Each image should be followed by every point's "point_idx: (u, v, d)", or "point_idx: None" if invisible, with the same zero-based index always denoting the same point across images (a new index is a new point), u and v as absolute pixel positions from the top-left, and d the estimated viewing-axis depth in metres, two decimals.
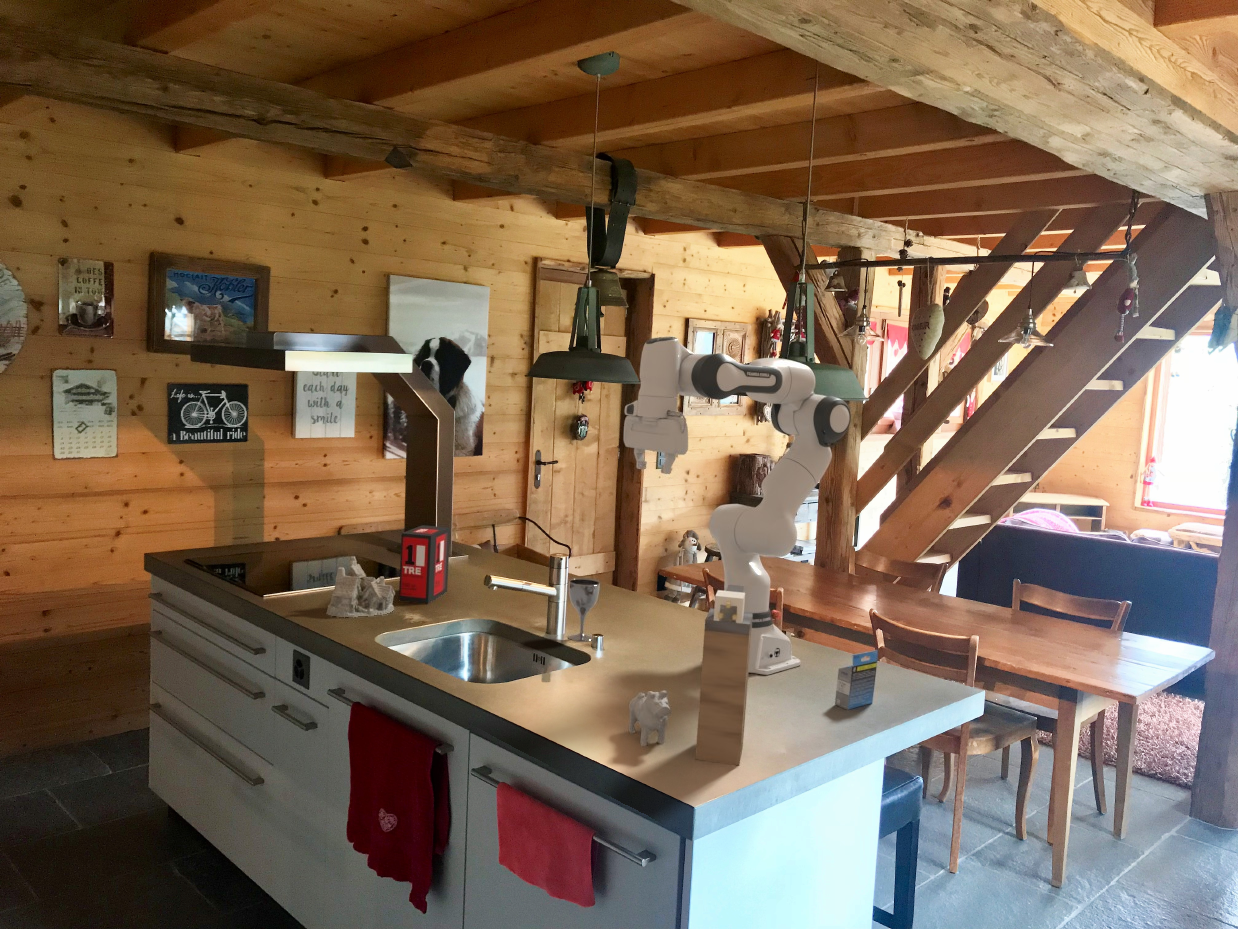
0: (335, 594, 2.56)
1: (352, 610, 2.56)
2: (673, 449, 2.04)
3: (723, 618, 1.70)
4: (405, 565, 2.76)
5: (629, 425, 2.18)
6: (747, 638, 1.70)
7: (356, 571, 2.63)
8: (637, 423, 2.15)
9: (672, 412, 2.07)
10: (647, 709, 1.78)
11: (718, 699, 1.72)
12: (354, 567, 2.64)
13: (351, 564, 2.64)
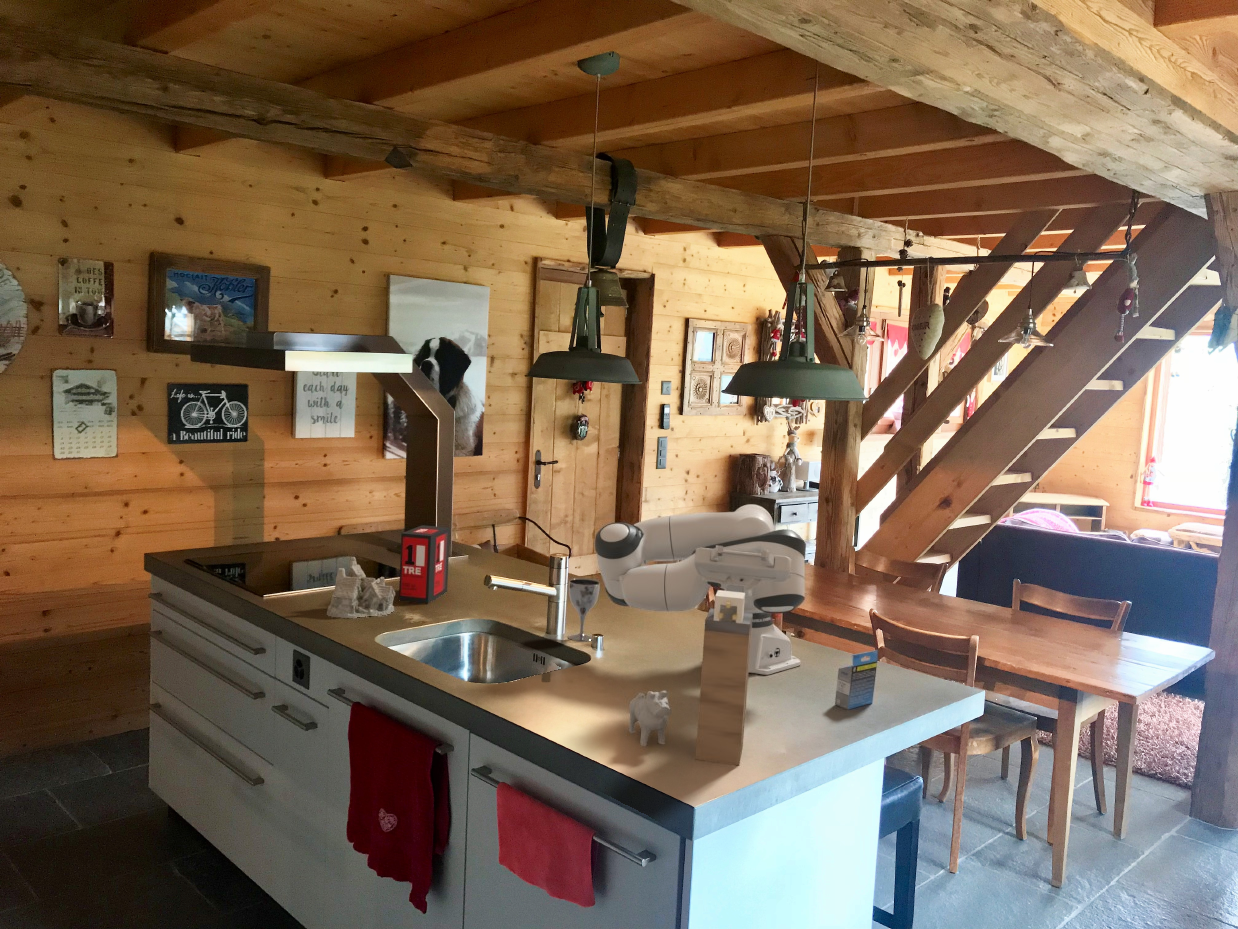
0: (335, 595, 2.55)
1: (352, 611, 2.55)
2: None
3: (723, 618, 1.70)
4: (405, 565, 2.76)
5: None
6: (747, 638, 1.70)
7: (356, 572, 2.62)
8: None
9: None
10: (647, 709, 1.78)
11: (718, 699, 1.72)
12: (354, 568, 2.63)
13: (351, 565, 2.63)
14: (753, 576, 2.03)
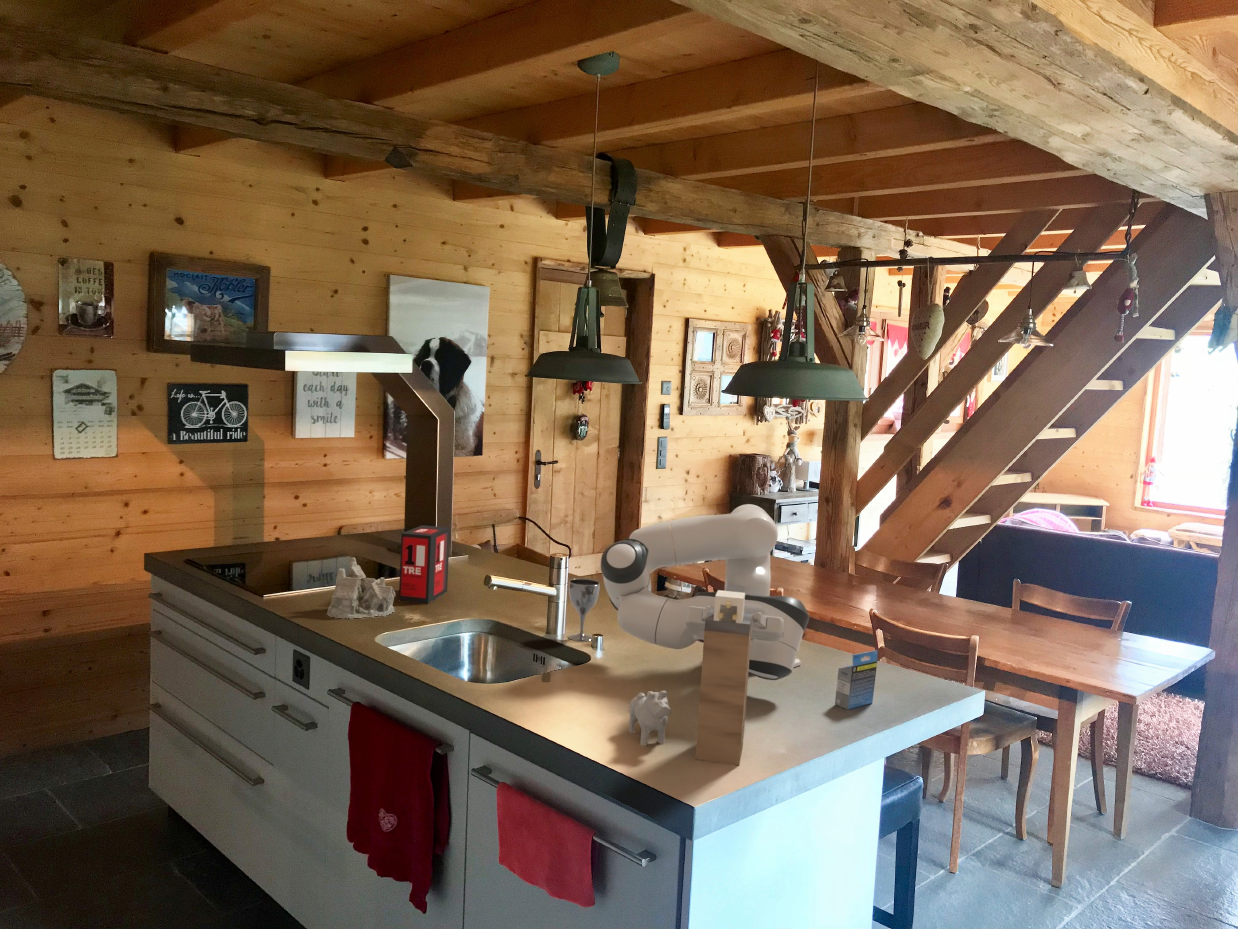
0: (336, 595, 2.55)
1: (353, 611, 2.55)
2: None
3: (723, 618, 1.70)
4: (405, 565, 2.76)
5: None
6: (747, 638, 1.70)
7: (356, 572, 2.62)
8: None
9: None
10: (647, 709, 1.78)
11: (718, 699, 1.72)
12: (354, 568, 2.62)
13: (351, 565, 2.62)
14: None
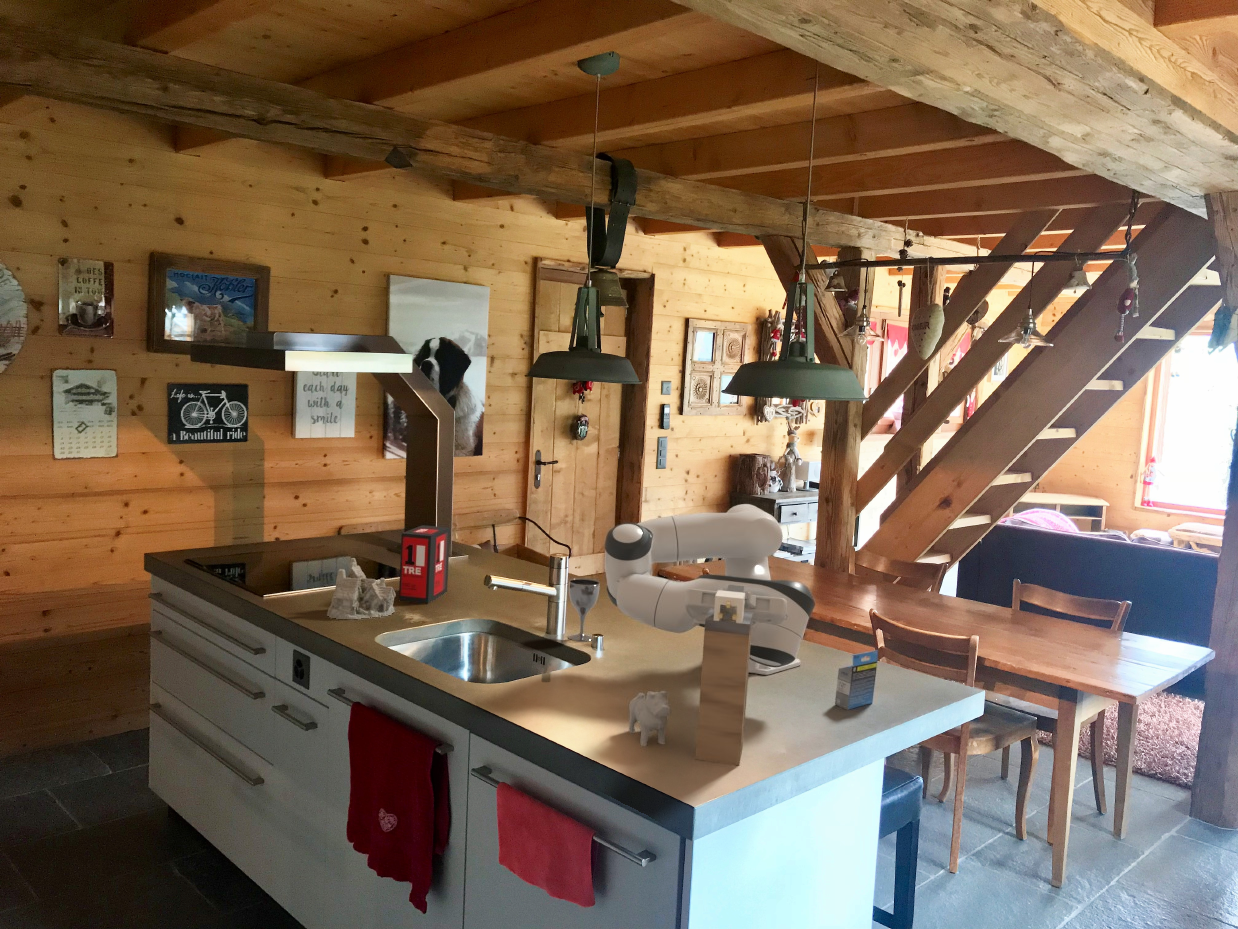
0: (336, 596, 2.54)
1: (353, 612, 2.54)
2: None
3: (723, 618, 1.70)
4: (405, 565, 2.76)
5: None
6: (747, 638, 1.70)
7: (356, 573, 2.61)
8: None
9: None
10: (647, 709, 1.78)
11: (718, 699, 1.72)
12: (354, 569, 2.62)
13: (351, 566, 2.62)
14: None
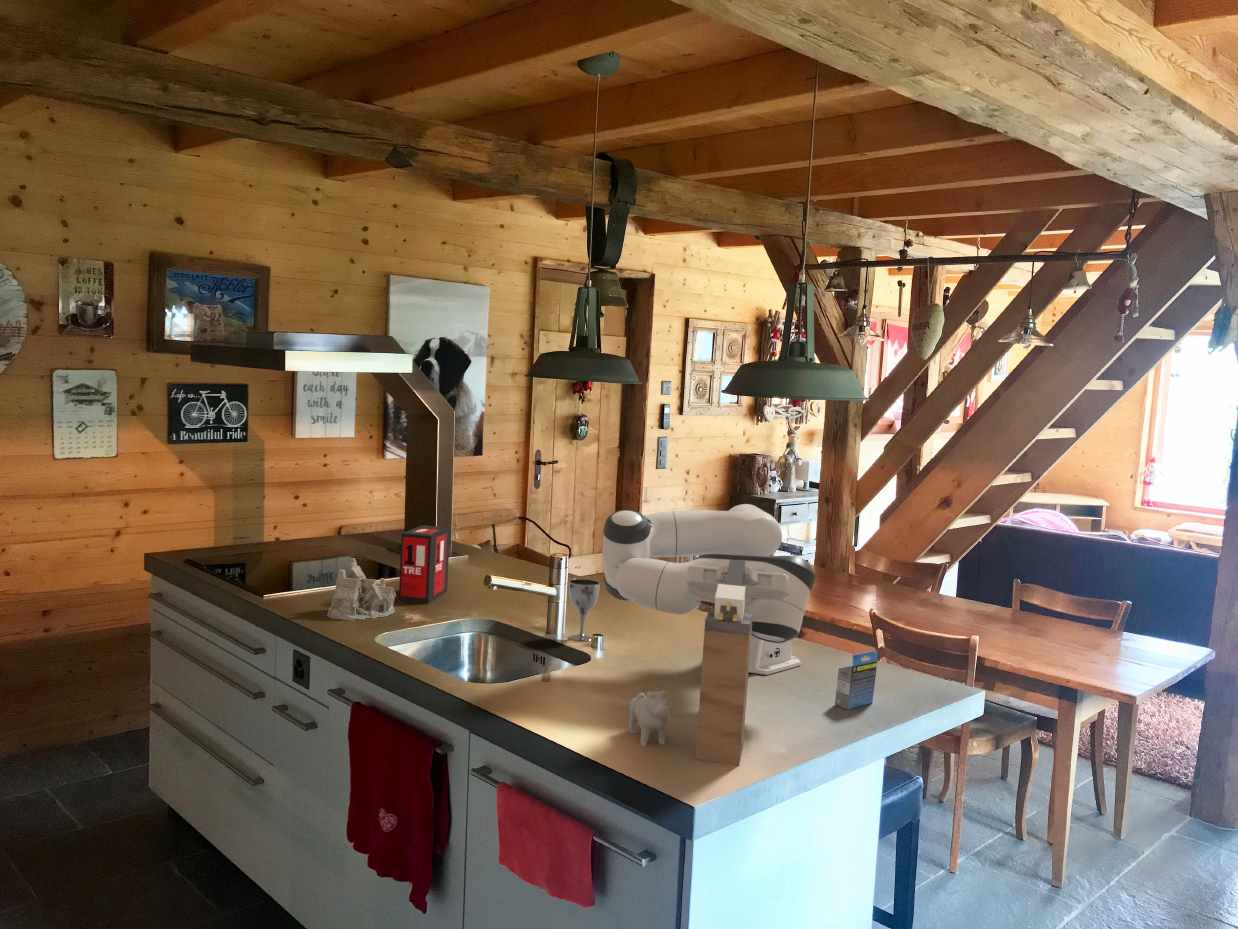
0: (336, 596, 2.54)
1: (354, 612, 2.54)
2: None
3: (724, 617, 1.71)
4: (405, 565, 2.76)
5: None
6: (747, 638, 1.70)
7: (356, 573, 2.61)
8: None
9: None
10: (647, 709, 1.78)
11: (718, 699, 1.72)
12: (354, 569, 2.61)
13: (351, 566, 2.61)
14: (749, 594, 1.92)
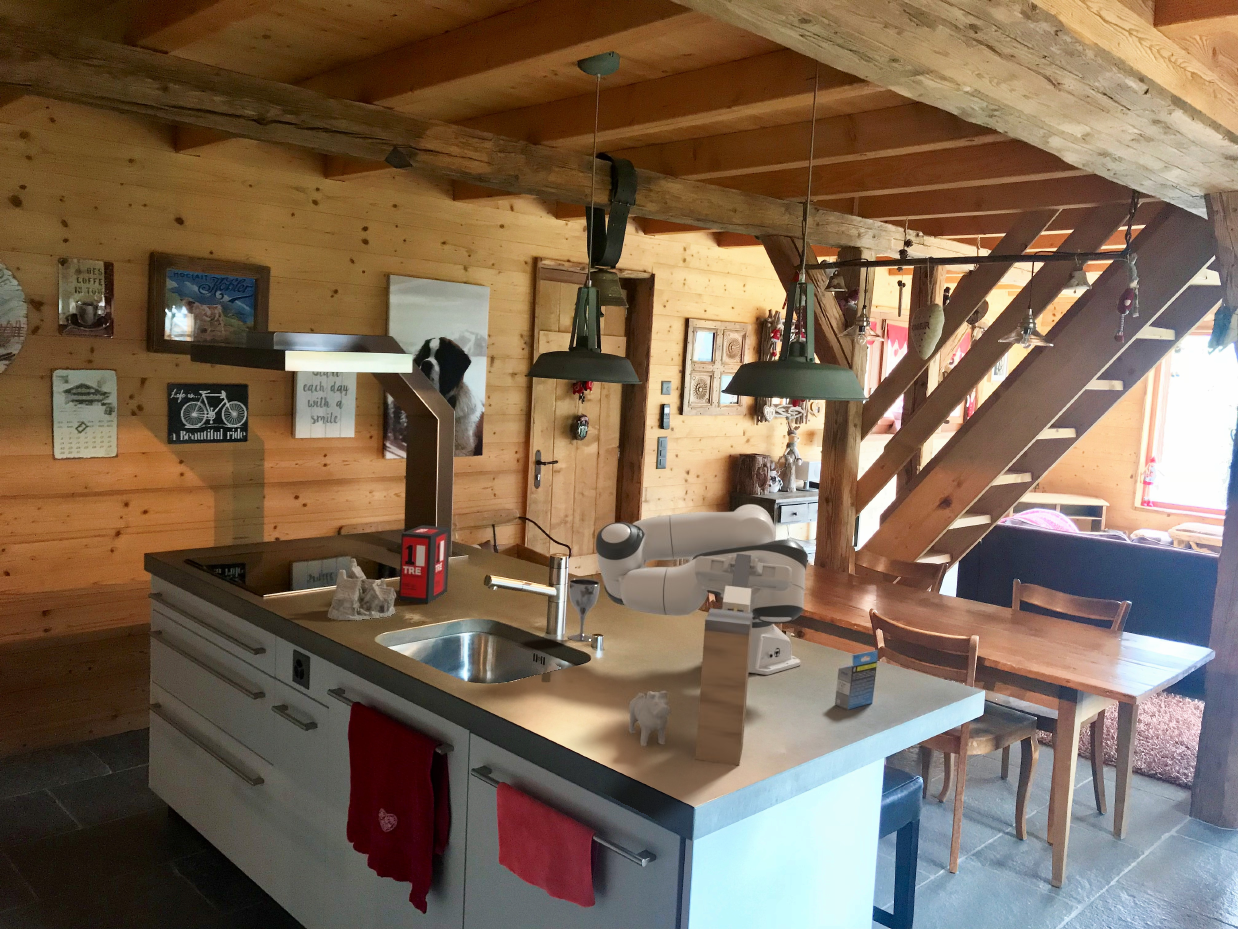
0: (337, 597, 2.53)
1: (354, 613, 2.53)
2: None
3: None
4: (405, 565, 2.76)
5: None
6: (747, 638, 1.70)
7: (356, 573, 2.60)
8: None
9: None
10: (647, 709, 1.78)
11: (718, 699, 1.72)
12: (354, 569, 2.61)
13: (351, 566, 2.61)
14: (753, 585, 2.03)
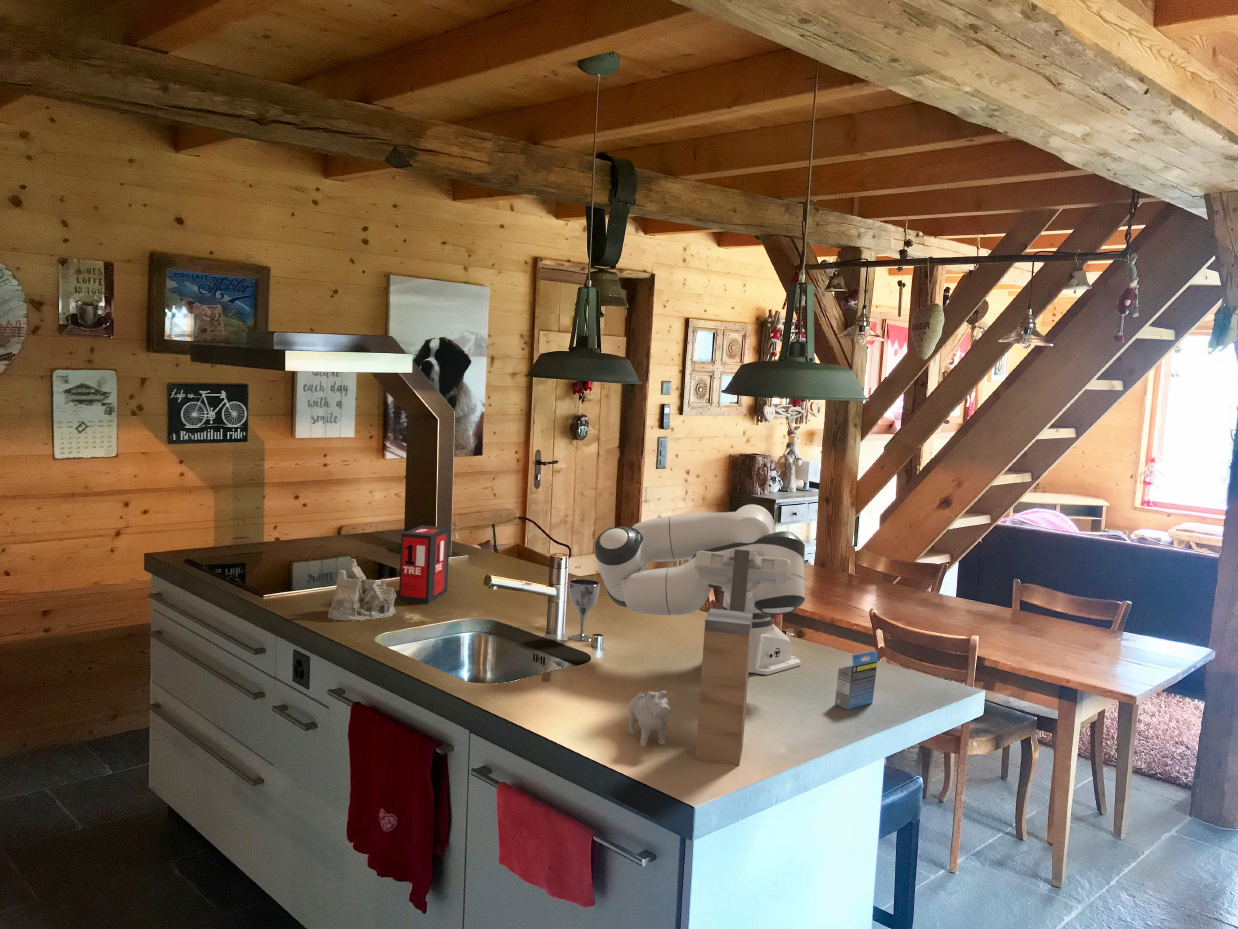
0: (337, 597, 2.53)
1: (354, 613, 2.53)
2: None
3: None
4: (405, 565, 2.76)
5: None
6: (747, 638, 1.70)
7: (356, 574, 2.60)
8: None
9: None
10: (647, 709, 1.78)
11: (718, 699, 1.72)
12: (355, 570, 2.60)
13: (351, 567, 2.60)
14: (753, 578, 2.06)
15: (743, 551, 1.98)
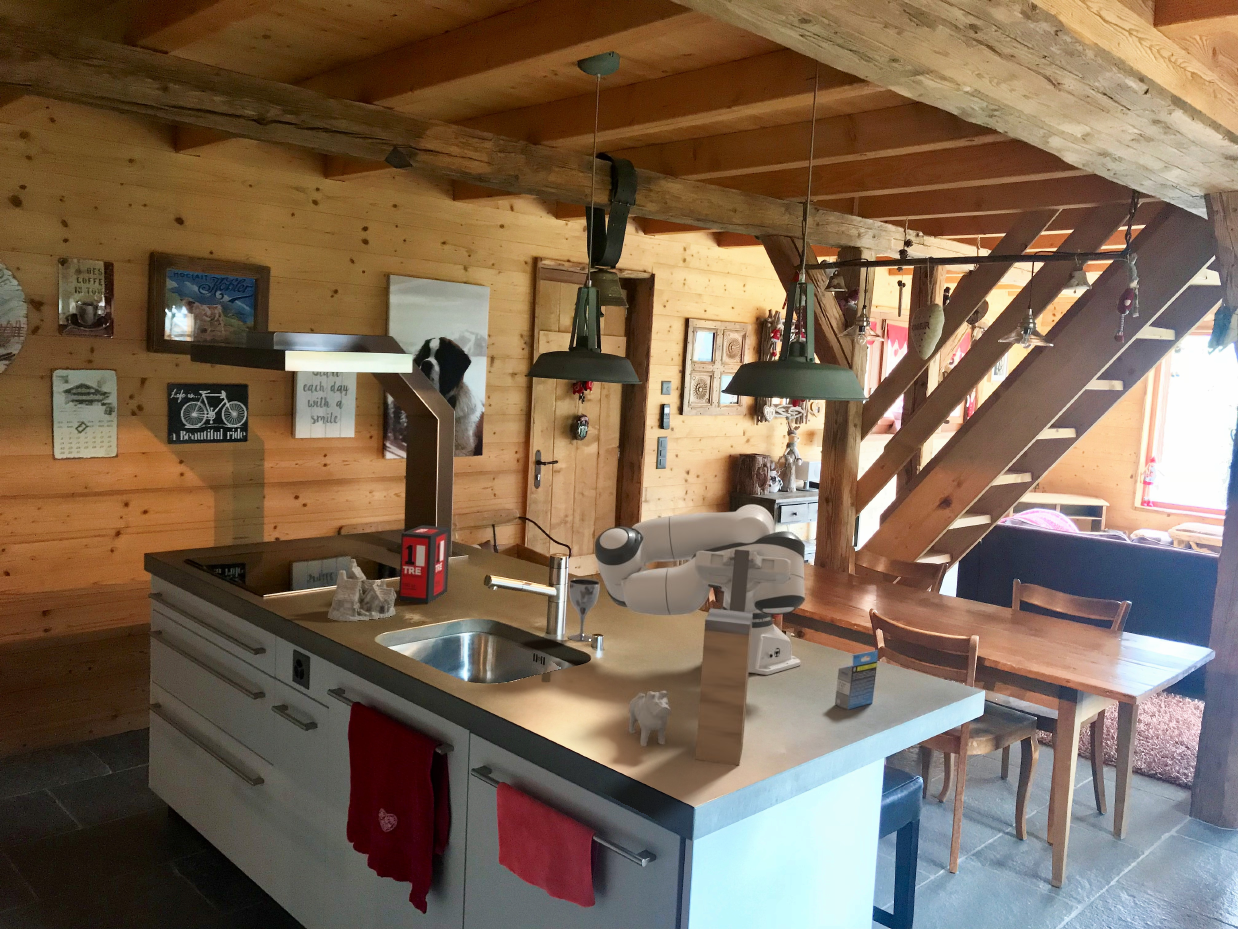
0: (337, 598, 2.52)
1: (354, 614, 2.53)
2: None
3: None
4: (405, 565, 2.76)
5: None
6: (747, 638, 1.70)
7: (356, 574, 2.59)
8: None
9: None
10: (647, 709, 1.78)
11: (718, 699, 1.72)
12: (354, 570, 2.60)
13: (351, 567, 2.60)
14: (753, 578, 2.06)
15: (743, 551, 1.98)
